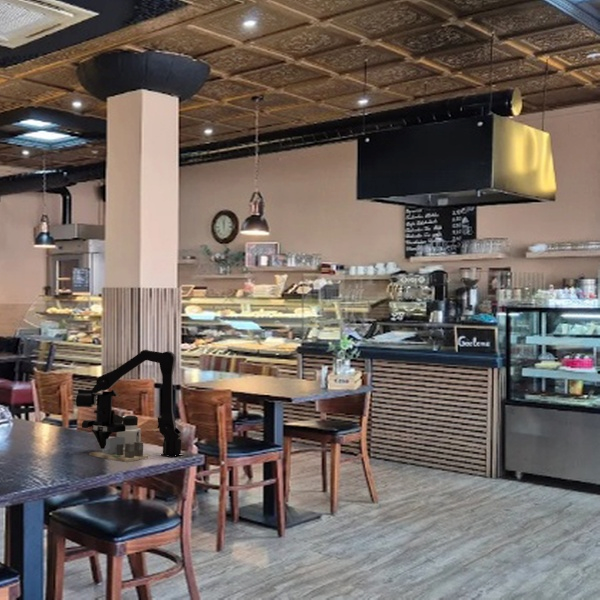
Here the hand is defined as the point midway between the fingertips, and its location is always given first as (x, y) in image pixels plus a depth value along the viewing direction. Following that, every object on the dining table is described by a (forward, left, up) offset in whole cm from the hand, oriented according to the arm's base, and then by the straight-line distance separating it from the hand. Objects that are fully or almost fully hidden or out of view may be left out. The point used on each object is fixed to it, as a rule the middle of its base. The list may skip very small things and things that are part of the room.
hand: (102, 448), depth 304 cm
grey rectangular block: (-10, +1, -1) cm, 10 cm away
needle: (-15, +5, 0) cm, 15 cm away
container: (+3, -16, -2) cm, 16 cm away
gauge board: (-9, 0, -2) cm, 9 cm away
